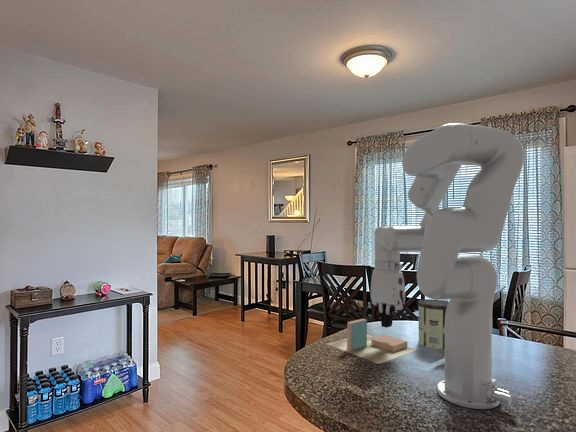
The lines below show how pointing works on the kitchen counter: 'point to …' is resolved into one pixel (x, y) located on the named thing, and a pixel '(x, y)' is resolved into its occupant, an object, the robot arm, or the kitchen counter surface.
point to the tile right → (389, 343)
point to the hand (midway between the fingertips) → (386, 326)
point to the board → (372, 351)
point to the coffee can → (432, 323)
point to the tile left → (356, 334)
